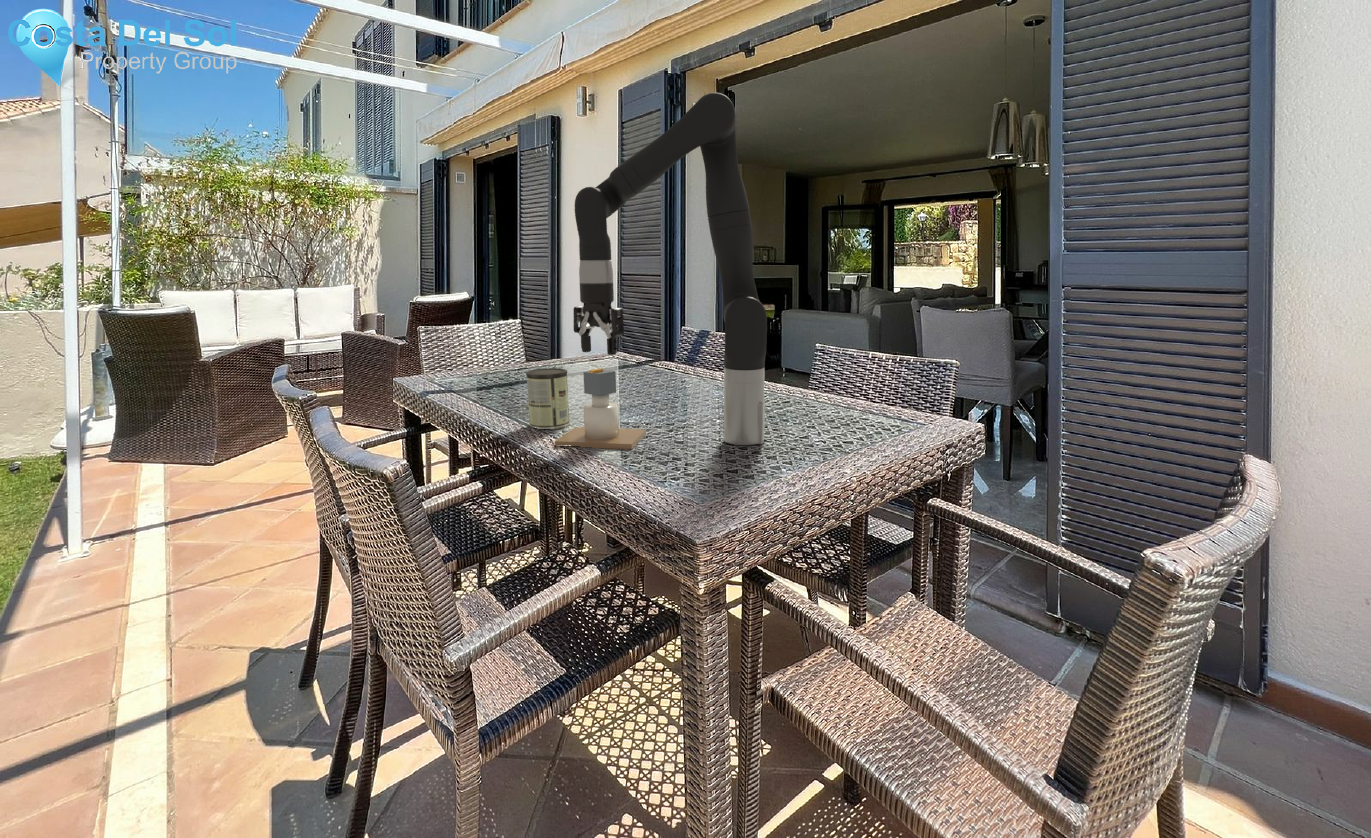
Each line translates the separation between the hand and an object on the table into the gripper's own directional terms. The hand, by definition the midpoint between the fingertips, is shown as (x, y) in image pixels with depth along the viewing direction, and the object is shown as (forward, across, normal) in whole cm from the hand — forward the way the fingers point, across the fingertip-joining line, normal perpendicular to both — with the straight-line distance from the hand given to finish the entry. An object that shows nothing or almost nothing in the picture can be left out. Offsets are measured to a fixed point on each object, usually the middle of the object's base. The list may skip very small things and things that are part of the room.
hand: (599, 353), depth 162 cm
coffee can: (+21, +22, -2) cm, 30 cm away
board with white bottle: (+20, 0, 0) cm, 21 cm away
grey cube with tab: (+9, 0, 0) cm, 9 cm away
